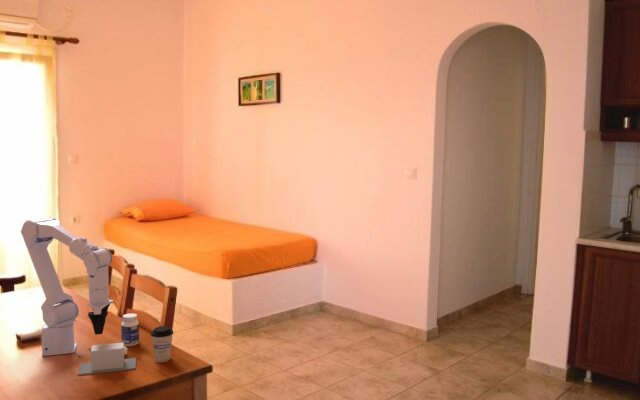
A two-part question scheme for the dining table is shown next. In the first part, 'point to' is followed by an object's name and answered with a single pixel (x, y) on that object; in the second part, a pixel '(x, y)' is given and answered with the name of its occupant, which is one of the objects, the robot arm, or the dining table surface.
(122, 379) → the dining table surface
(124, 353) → the cream marble
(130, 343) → the pill bottle
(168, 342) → the coffee cup
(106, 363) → the cover
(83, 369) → the mat
